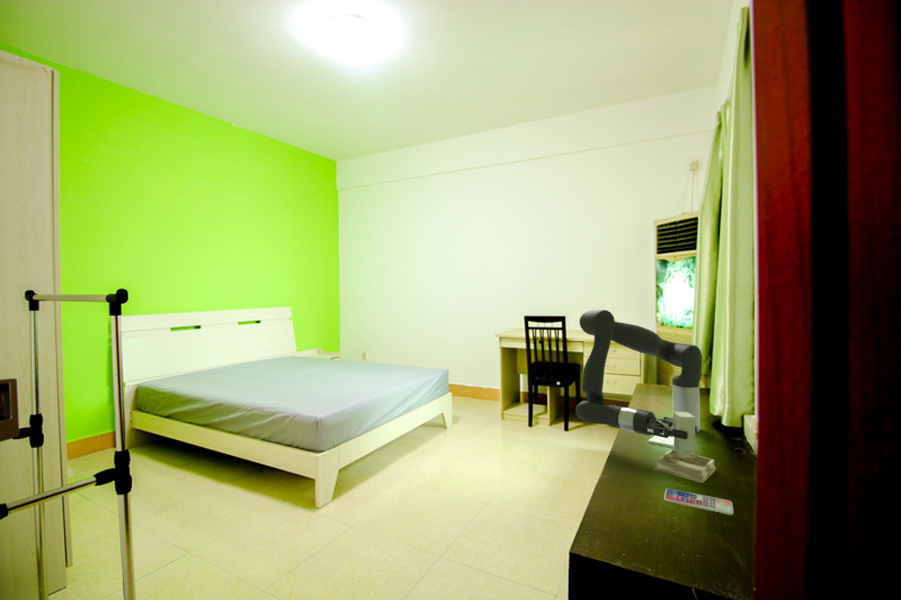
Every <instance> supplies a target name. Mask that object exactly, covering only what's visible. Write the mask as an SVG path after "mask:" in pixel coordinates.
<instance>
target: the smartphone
mask: <svg viewBox="0 0 901 600" xmlns="http://www.w3.org/2000/svg"><path fill="white" fill-rule="evenodd" d="M663 500H664V501H665V502H666V503H671V504H672V503H673V504H677V505H681V506H685V507H690V508H691V507H692V508H694V509H699V510H700V509H701V510H705V511H710V512H713V511H714V512H715V513H718V512H719V514H724V515H728V516H733V515H734V505H733V501H731V500H729V499H724V498H720V497H716V496H715V497H714V496H709V495H704V494H701V493H700V494H699V493H694V492H688V491H684V490H679V489H673V488H666V489H665V490H664V497H663Z"/></svg>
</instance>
